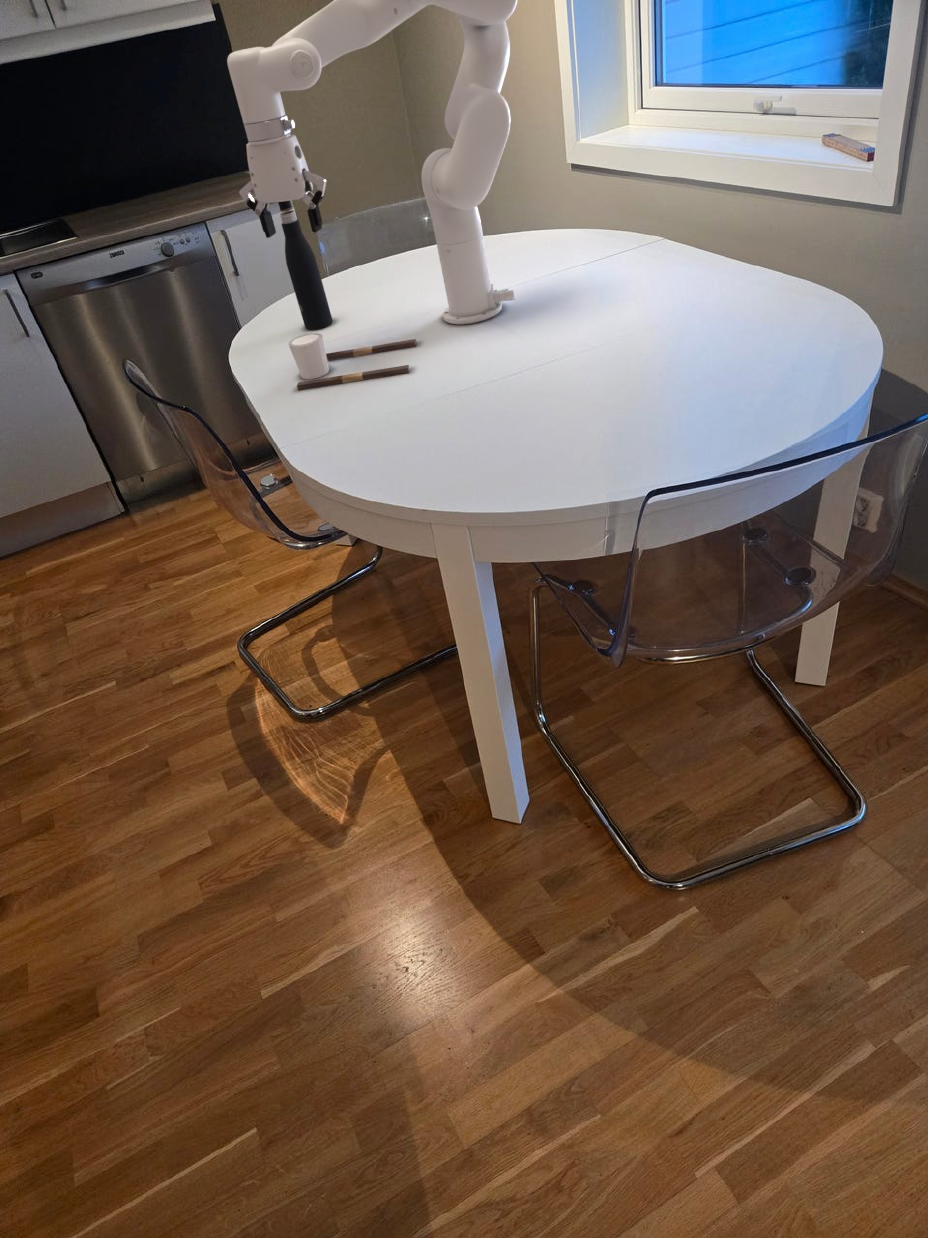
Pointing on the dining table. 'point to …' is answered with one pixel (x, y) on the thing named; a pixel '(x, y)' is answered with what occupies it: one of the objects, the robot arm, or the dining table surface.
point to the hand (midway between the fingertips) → (294, 232)
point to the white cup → (310, 355)
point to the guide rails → (361, 375)
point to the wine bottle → (304, 272)
